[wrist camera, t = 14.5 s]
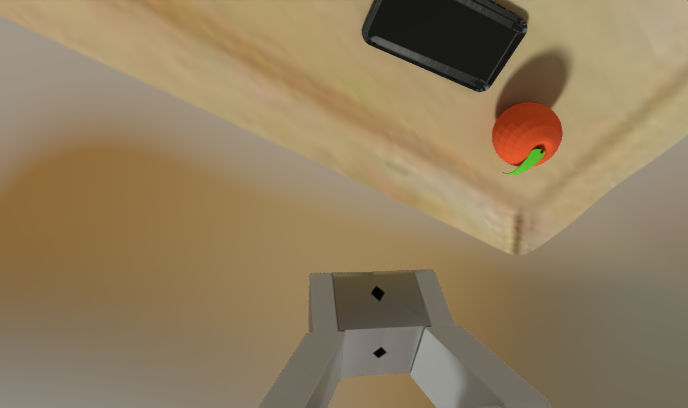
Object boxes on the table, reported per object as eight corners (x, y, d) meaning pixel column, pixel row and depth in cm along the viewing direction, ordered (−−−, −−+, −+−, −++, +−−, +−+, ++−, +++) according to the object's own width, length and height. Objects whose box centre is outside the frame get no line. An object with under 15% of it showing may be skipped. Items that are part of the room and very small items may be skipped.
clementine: (509, 161, 51) (536, 196, 45) (464, 142, 48) (487, 176, 43) (555, 105, 47) (591, 136, 41) (509, 81, 44) (540, 111, 39)
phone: (484, 95, 44) (358, 40, 39) (481, 90, 45) (357, 36, 40) (533, 23, 40) (398, -49, 35) (527, 19, 41) (395, -51, 36)
